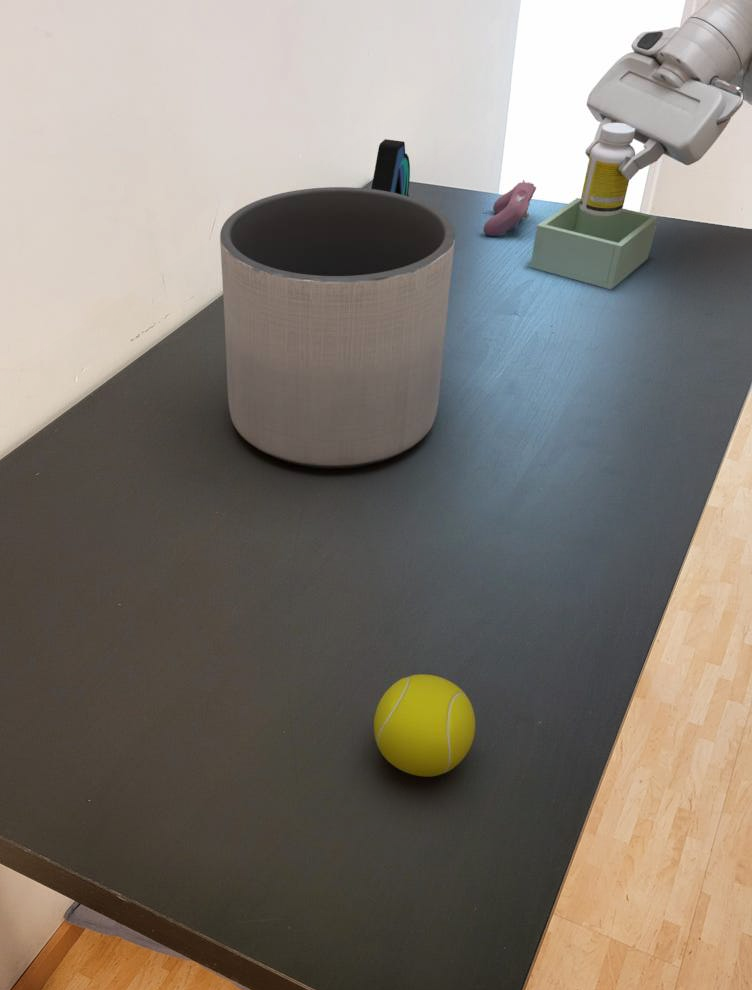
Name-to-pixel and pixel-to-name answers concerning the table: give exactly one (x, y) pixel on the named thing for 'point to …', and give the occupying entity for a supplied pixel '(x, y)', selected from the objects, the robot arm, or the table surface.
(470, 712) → the tennis ball
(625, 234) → the bin
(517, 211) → the mauve lumpy piece
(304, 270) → the planter
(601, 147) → the supplement bottle
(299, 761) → the table surface
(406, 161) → the decorative sign
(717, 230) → the table surface
